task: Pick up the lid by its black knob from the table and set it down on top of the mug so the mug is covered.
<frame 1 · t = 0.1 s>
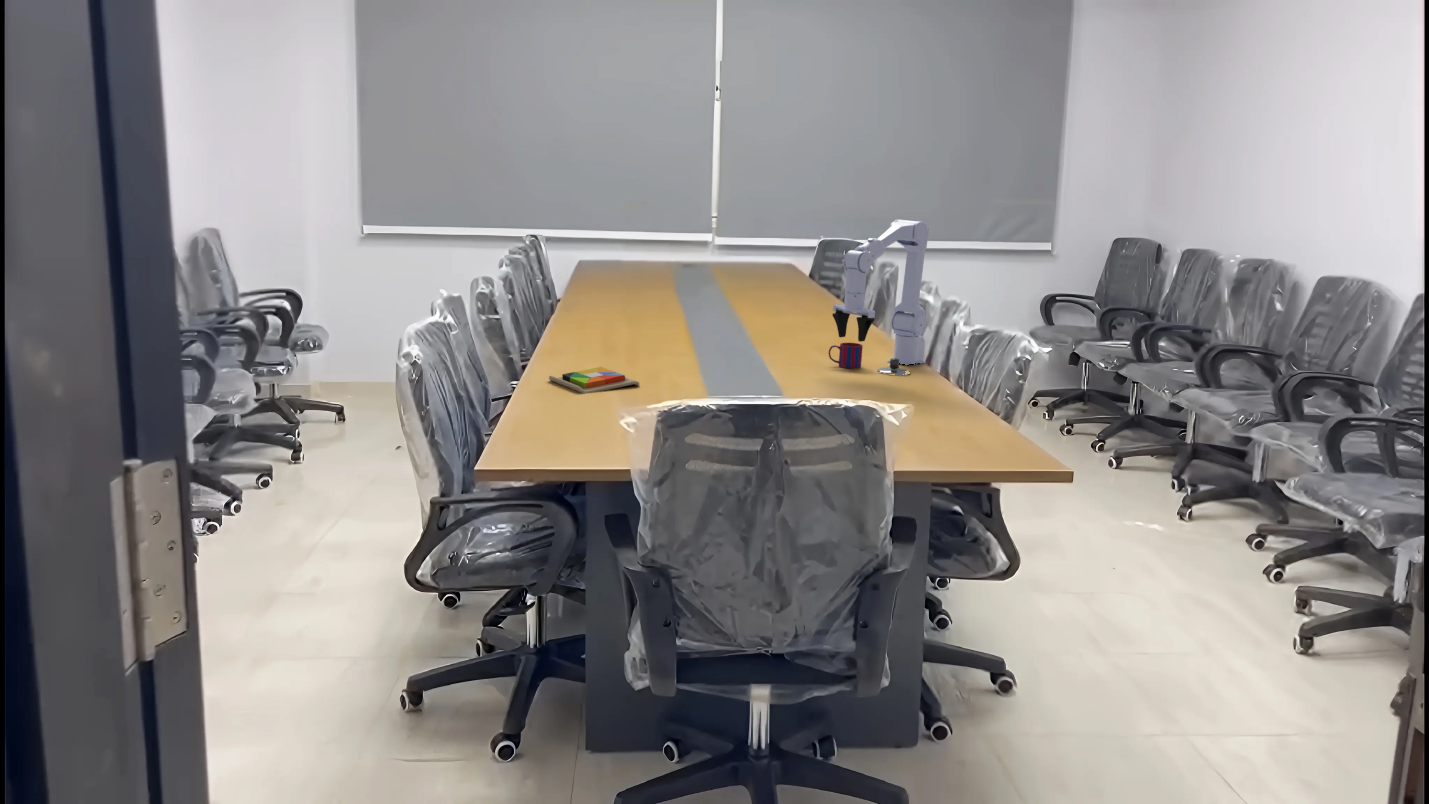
hand: (851, 339, 316), 10 cm above the table, fingers open, 7 cm apart
mug: (844, 367, 328), on the table
wooden puzzle: (594, 386, 290), on the table
lid: (893, 373, 322), on the table
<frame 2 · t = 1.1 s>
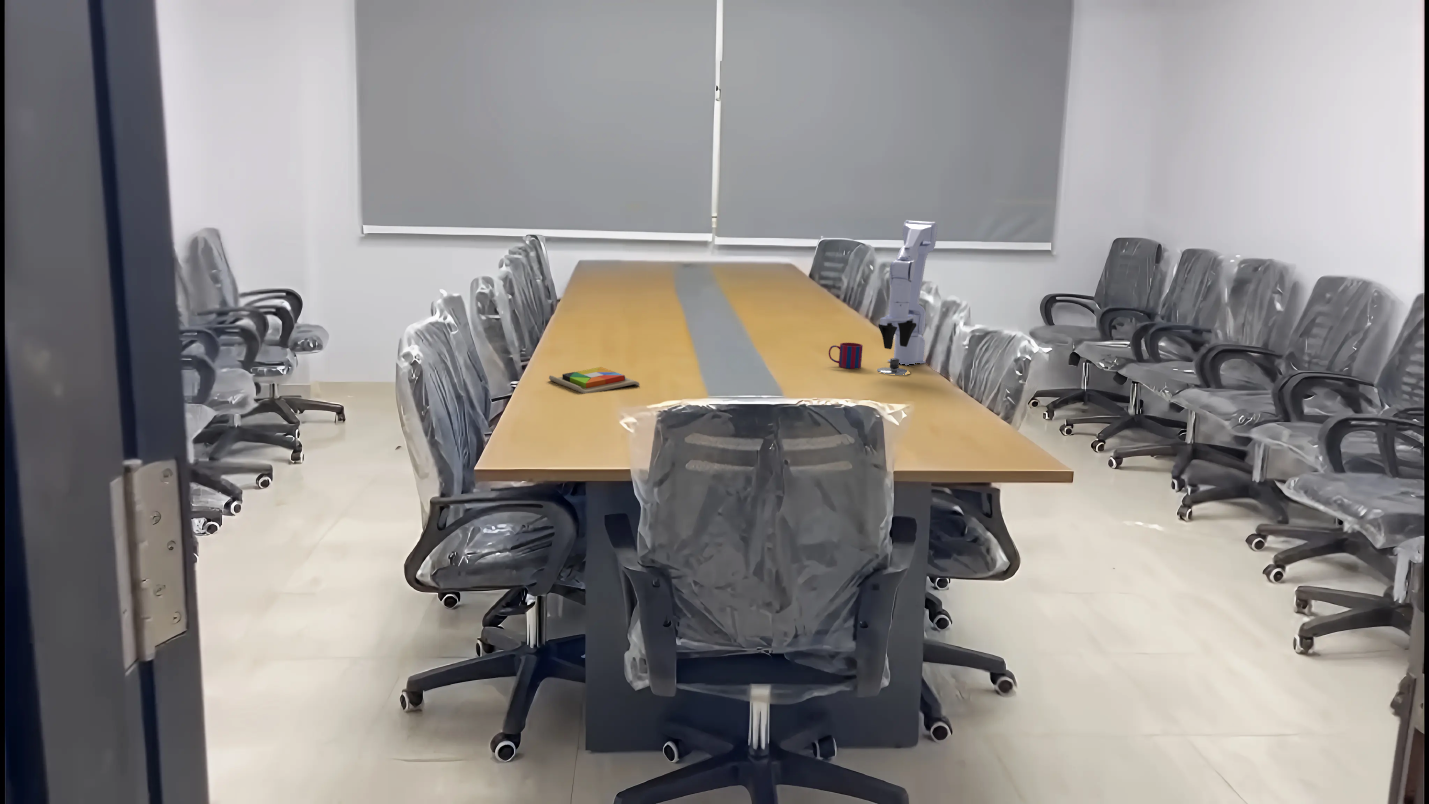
hand: (895, 347, 320), 7 cm above the table, fingers open, 7 cm apart
nothing on the table moved.
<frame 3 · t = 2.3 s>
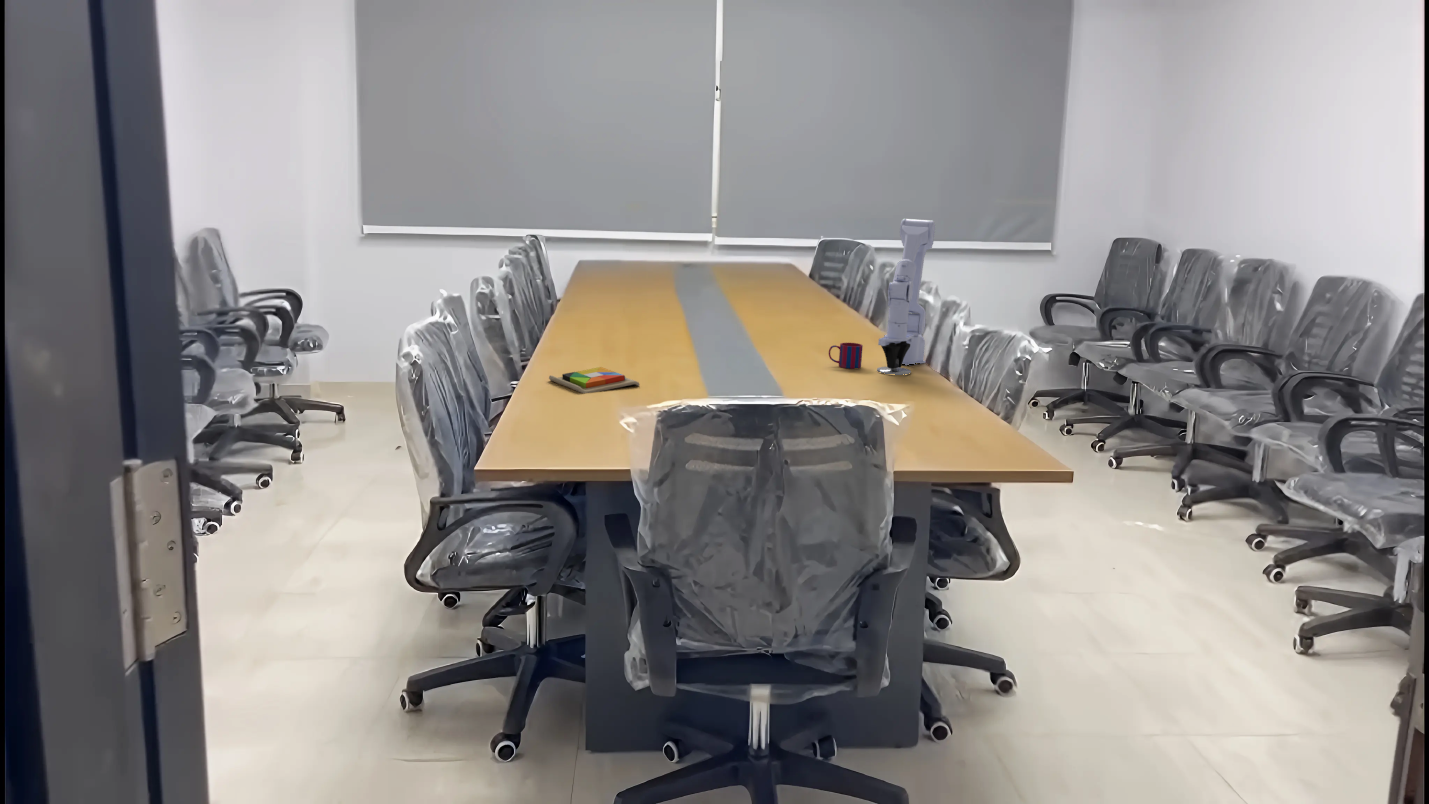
hand: (894, 367, 322), 1 cm above the table, fingers closed on lid, 3 cm apart
lid: (893, 372, 322), on the table, touching gripper
everything else where it was.
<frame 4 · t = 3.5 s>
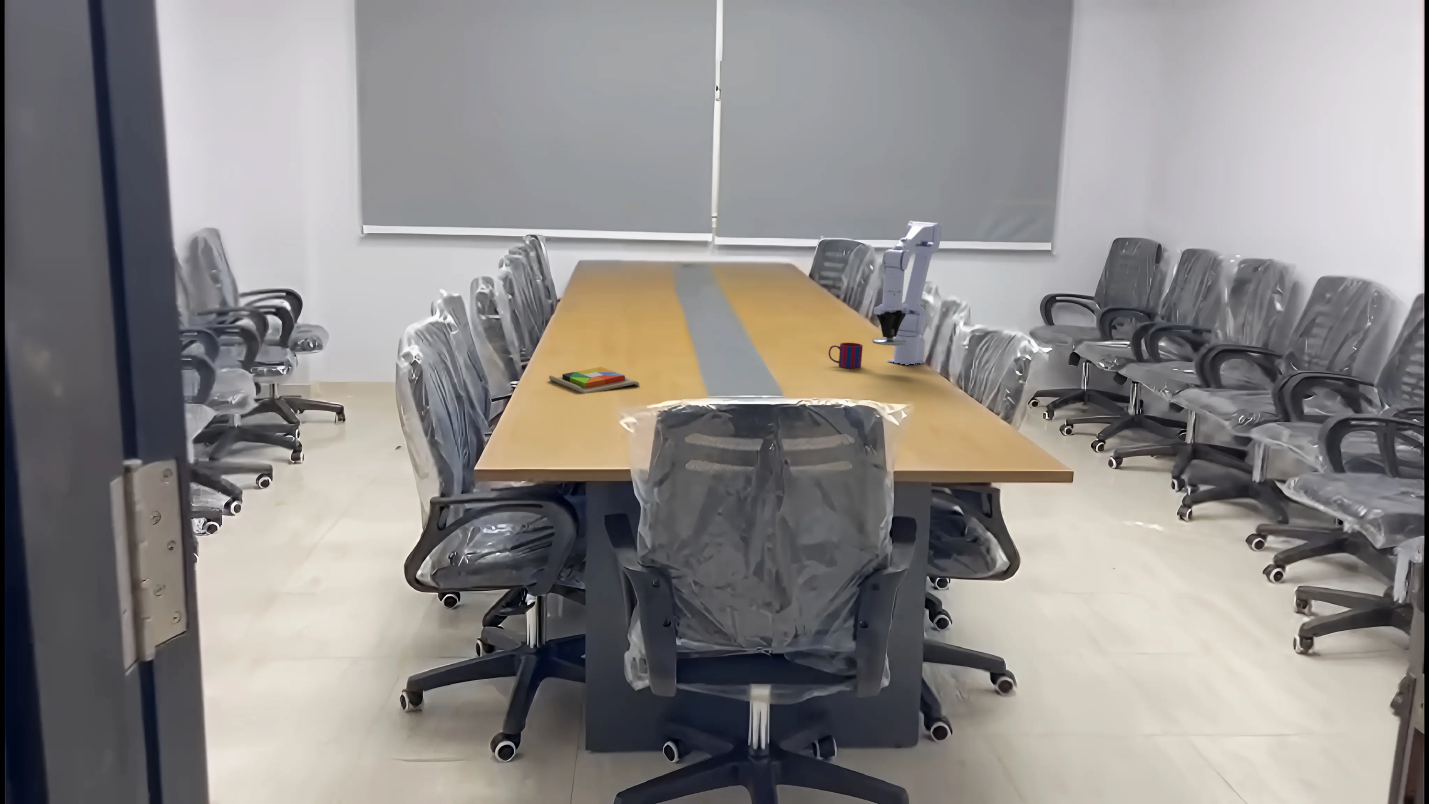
hand: (889, 336, 321), 10 cm above the table, fingers closed on lid, 3 cm apart
lid: (889, 342, 321), point 9 cm above the table, touching gripper
everything else where it was.
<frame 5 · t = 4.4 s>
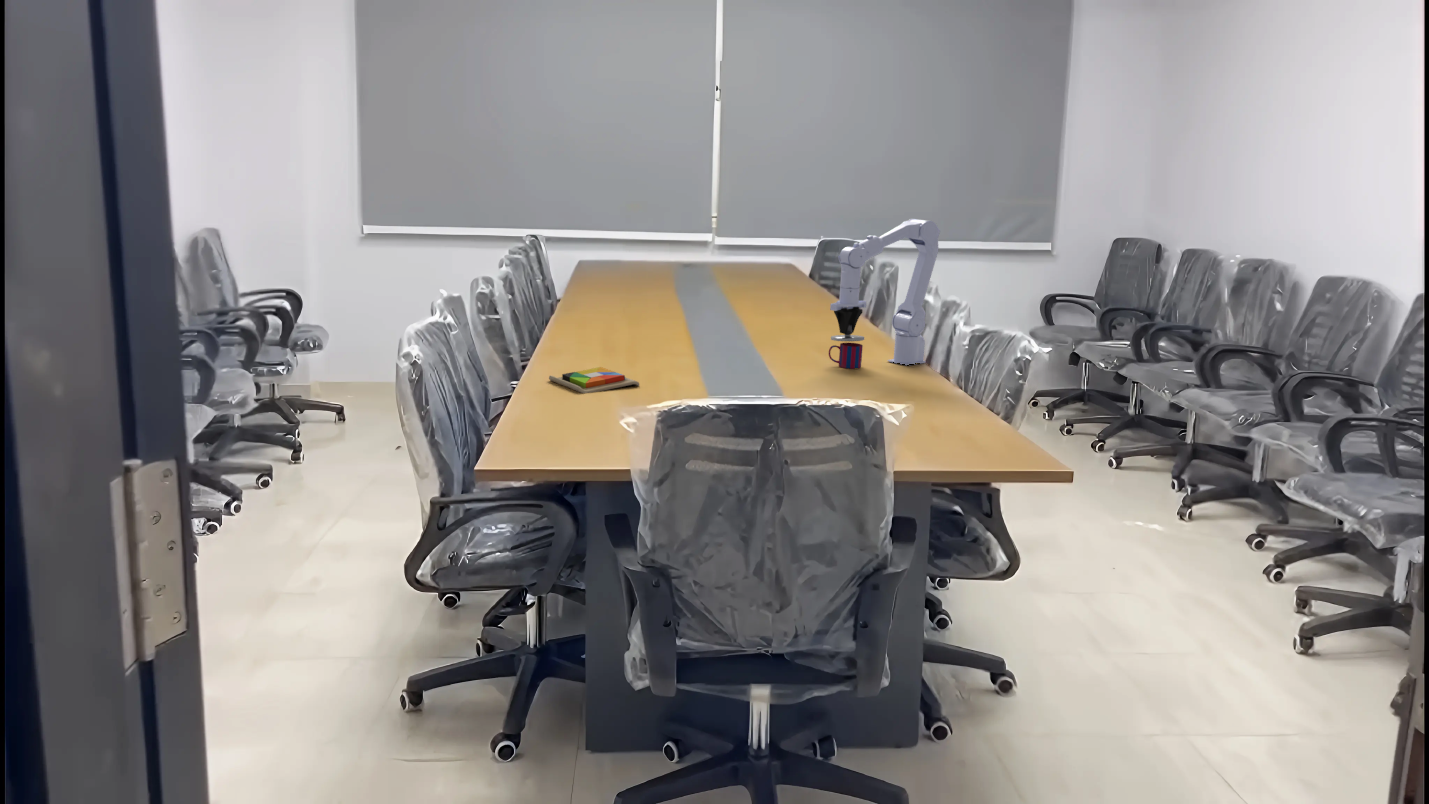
hand: (846, 332, 325), 10 cm above the table, fingers closed on lid, 3 cm apart
lid: (847, 339, 326), point 8 cm above the table, touching gripper
everything else where it was.
when the fingers open (10 cm above the table, at t = 4.9 s): lid moves 1 cm, resting on mug.
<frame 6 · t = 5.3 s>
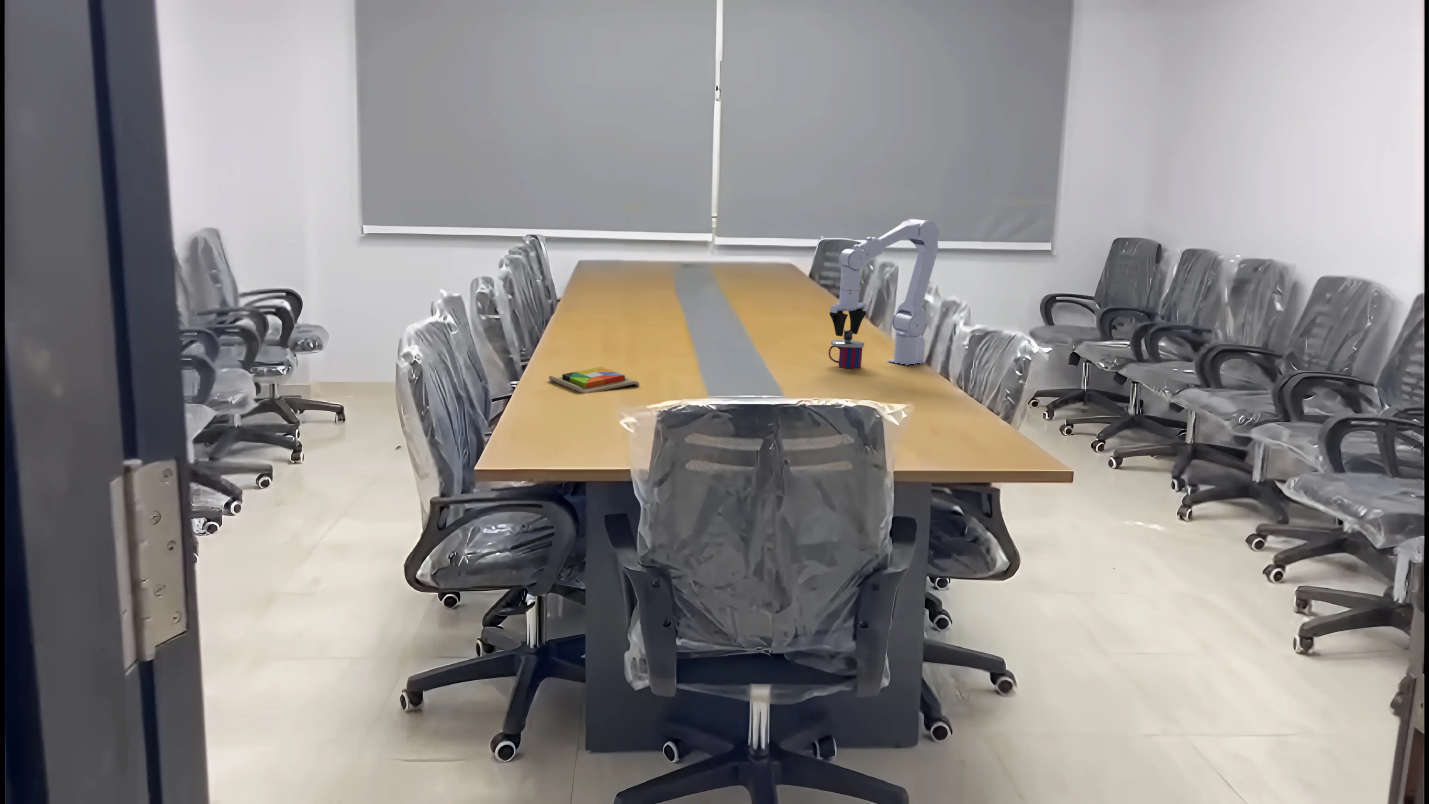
hand: (846, 334, 326), 10 cm above the table, fingers open, 6 cm apart
mug: (844, 367, 328), on the table, touching lid
lid: (847, 344, 326), point 7 cm above the table, touching mug
everything else where it was.
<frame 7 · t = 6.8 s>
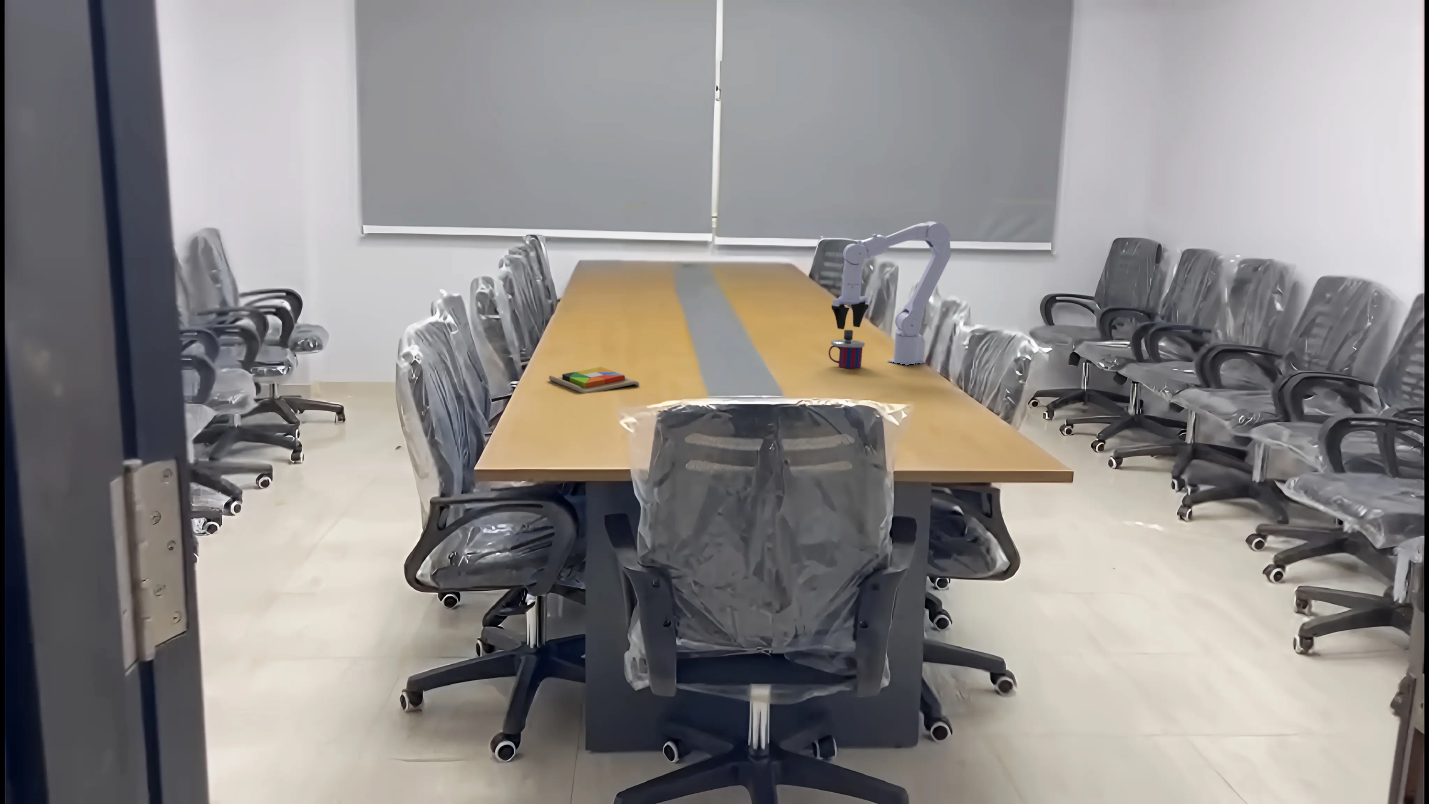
hand: (848, 327, 334), 10 cm above the table, fingers open, 7 cm apart
nothing on the table moved.
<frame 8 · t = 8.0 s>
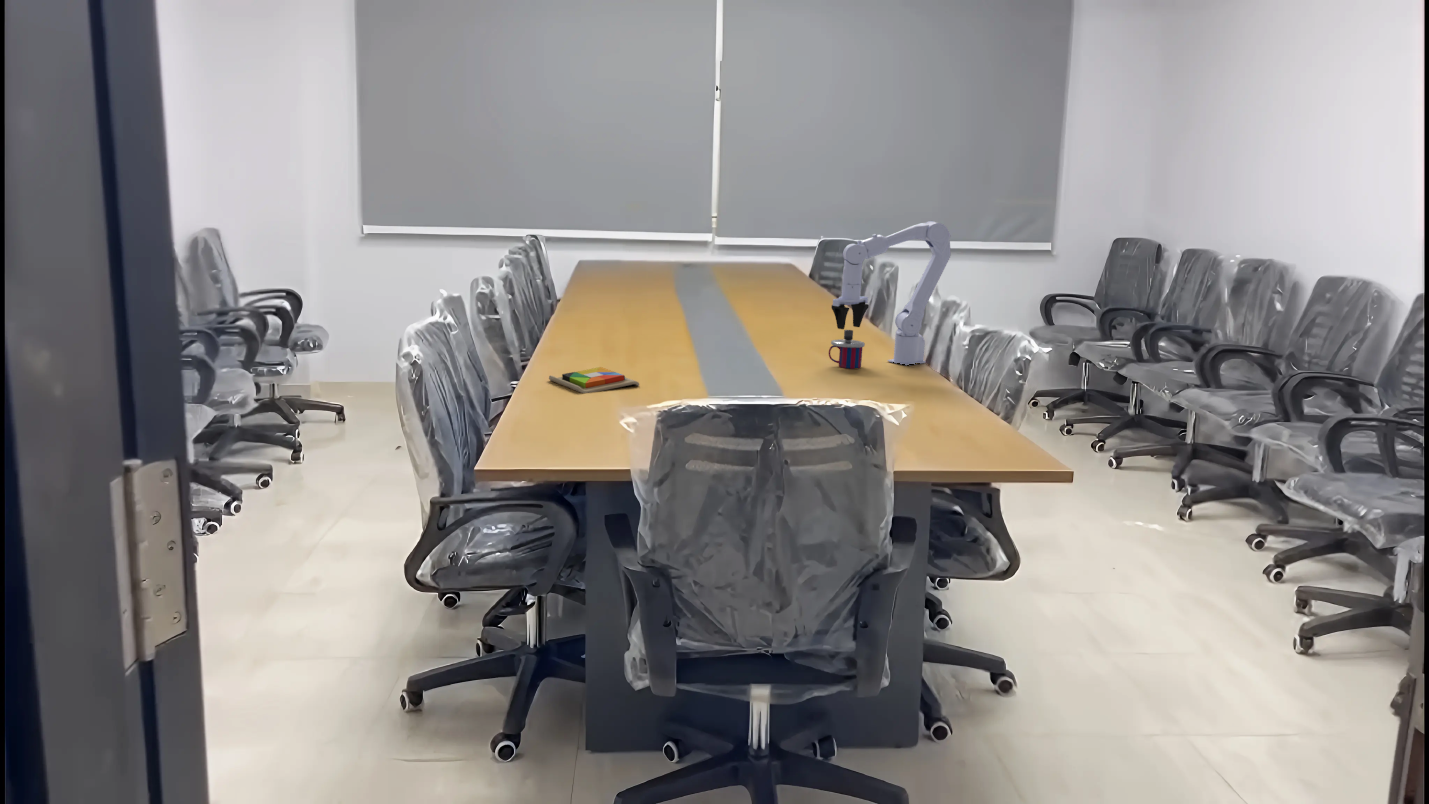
hand: (848, 327, 334), 10 cm above the table, fingers open, 7 cm apart
nothing on the table moved.
at the end: lid 0.8 cm off-centre on the mug, point 7.0 cm above the mug's base; lid tilted 0° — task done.
